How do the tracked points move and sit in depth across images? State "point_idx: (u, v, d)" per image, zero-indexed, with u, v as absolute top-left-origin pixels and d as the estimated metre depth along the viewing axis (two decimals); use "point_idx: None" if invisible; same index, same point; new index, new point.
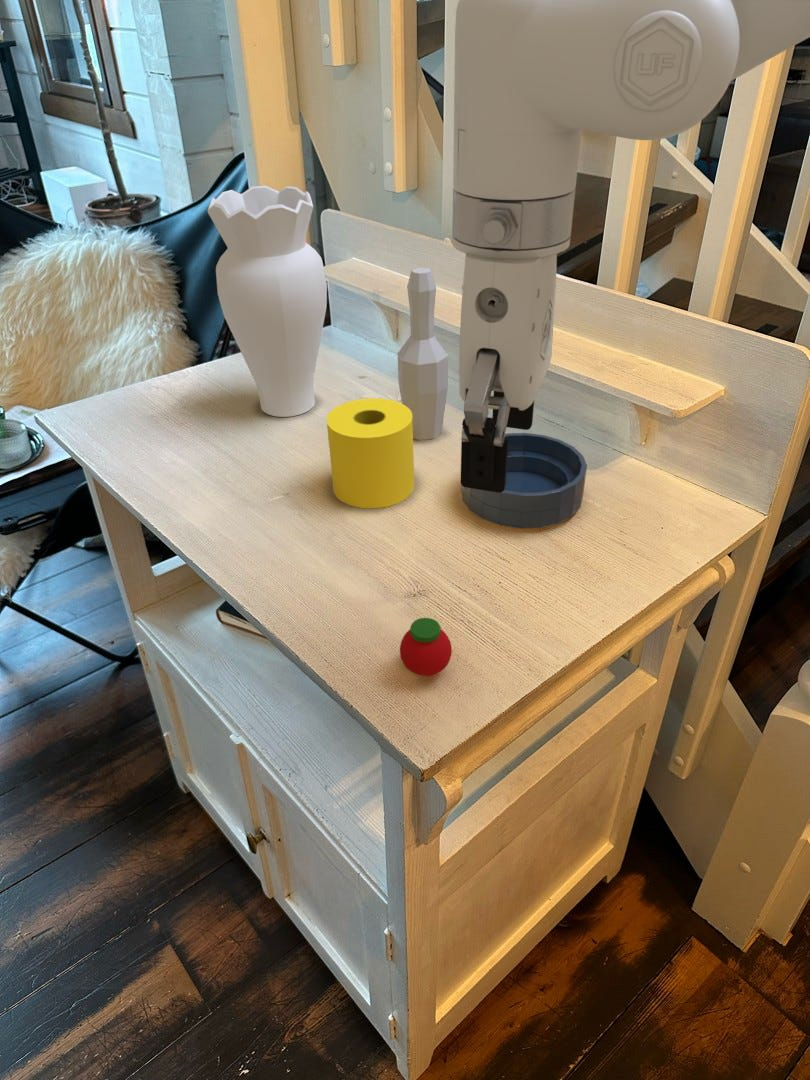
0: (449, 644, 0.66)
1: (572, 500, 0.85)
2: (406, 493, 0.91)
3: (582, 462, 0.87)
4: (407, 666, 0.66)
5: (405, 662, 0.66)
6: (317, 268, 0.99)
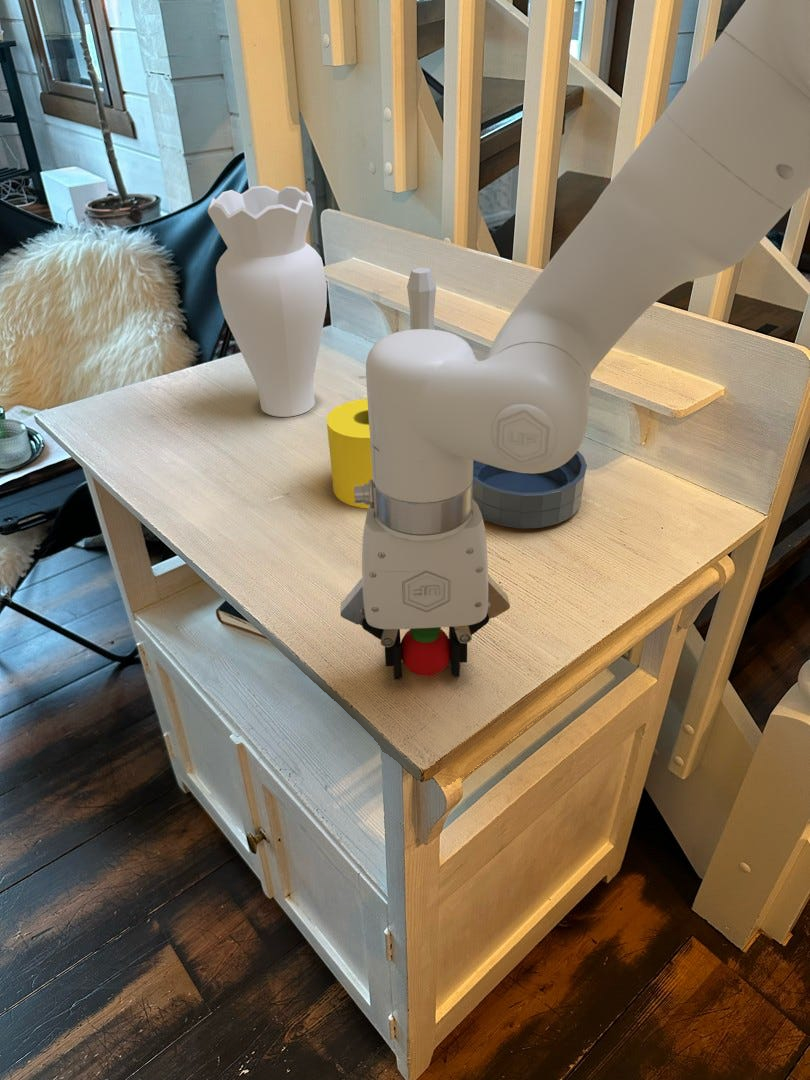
0: (449, 644, 0.66)
1: (572, 500, 0.85)
2: None
3: (582, 462, 0.87)
4: (407, 666, 0.66)
5: (405, 662, 0.66)
6: (317, 268, 0.99)
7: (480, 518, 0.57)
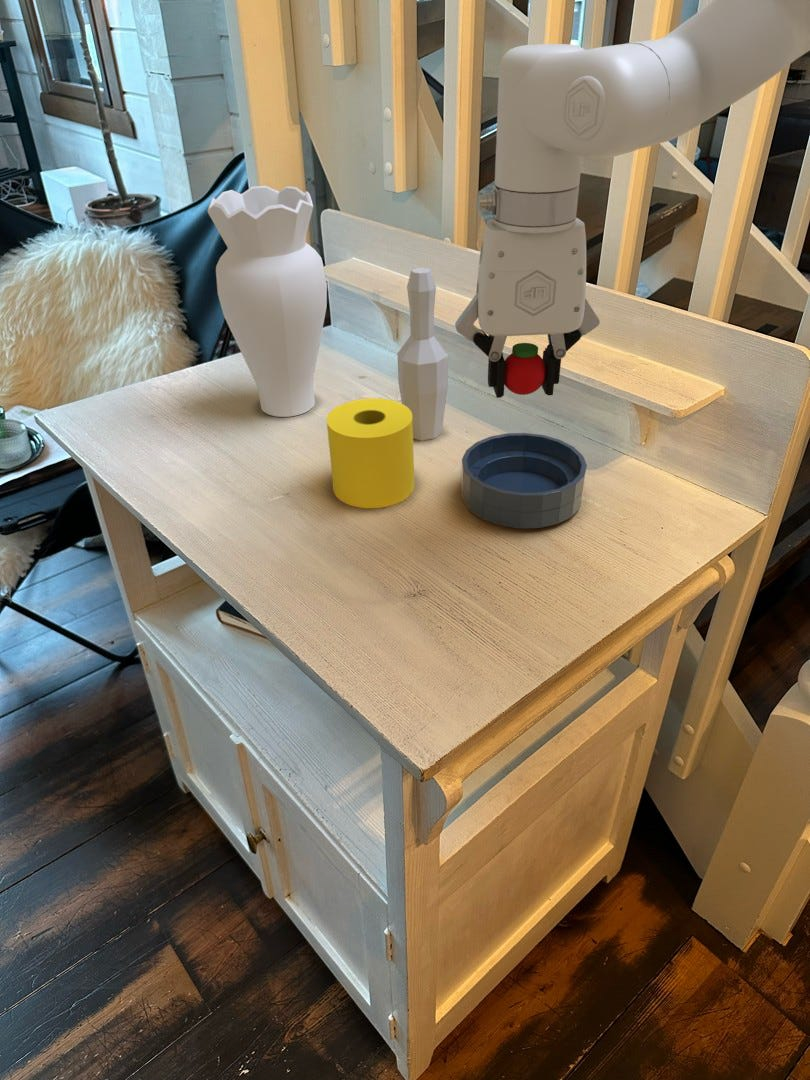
0: (544, 364, 0.78)
1: (572, 500, 0.85)
2: (406, 493, 0.91)
3: (582, 462, 0.87)
4: (509, 383, 0.78)
5: (507, 379, 0.77)
6: (317, 268, 0.99)
7: (583, 223, 0.69)
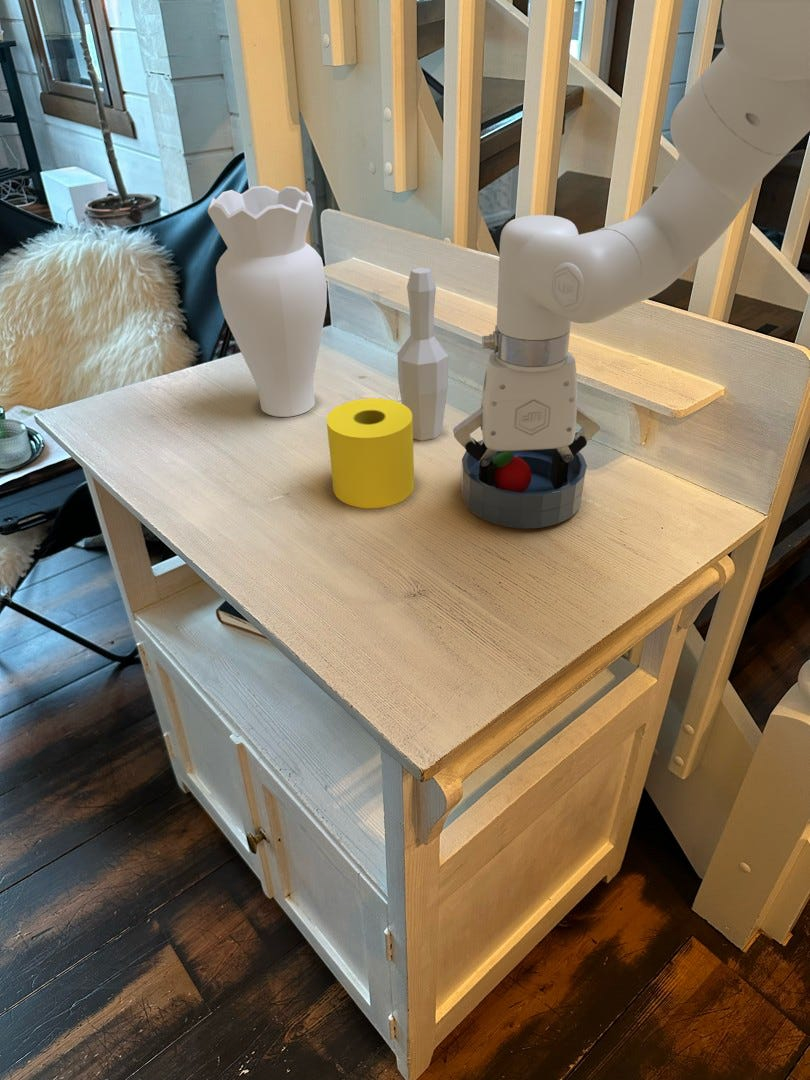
0: (524, 462, 0.88)
1: (572, 500, 0.85)
2: (406, 493, 0.91)
3: (582, 462, 0.87)
4: None
5: (499, 488, 0.88)
6: (317, 268, 0.99)
7: (573, 359, 0.79)
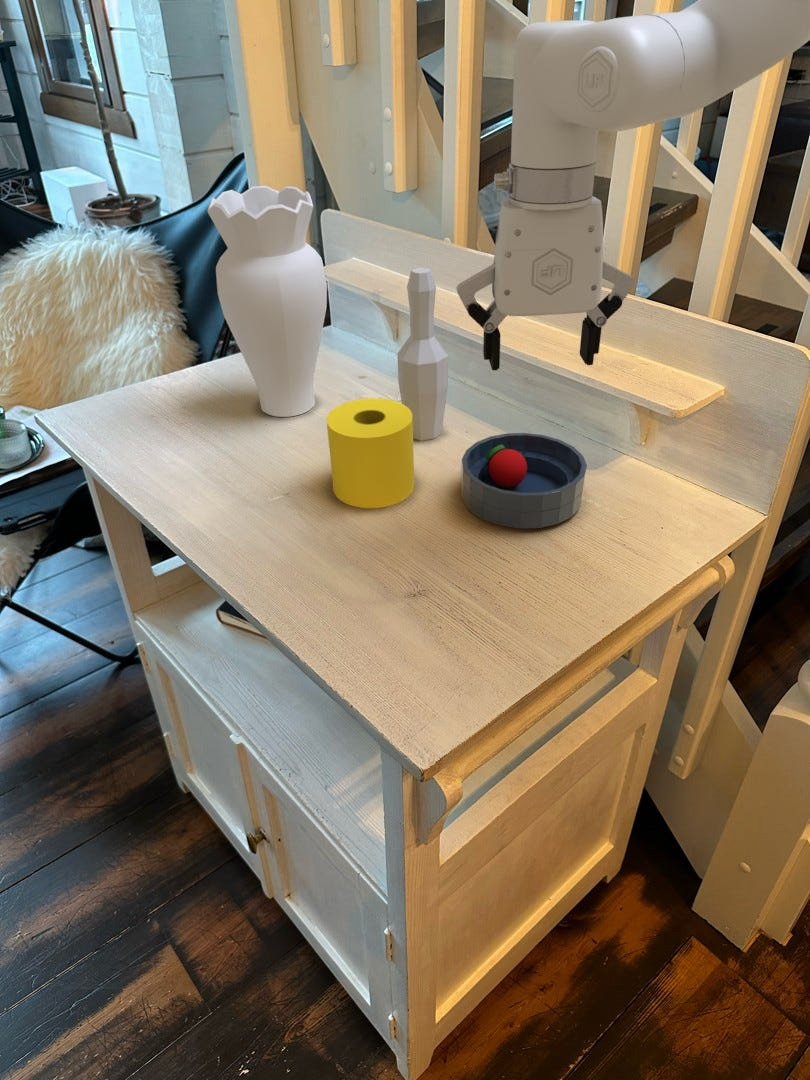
0: None
1: (572, 500, 0.85)
2: (406, 493, 0.91)
3: (582, 462, 0.87)
4: (498, 474, 0.89)
5: (495, 473, 0.89)
6: (317, 268, 0.99)
7: (599, 201, 0.69)
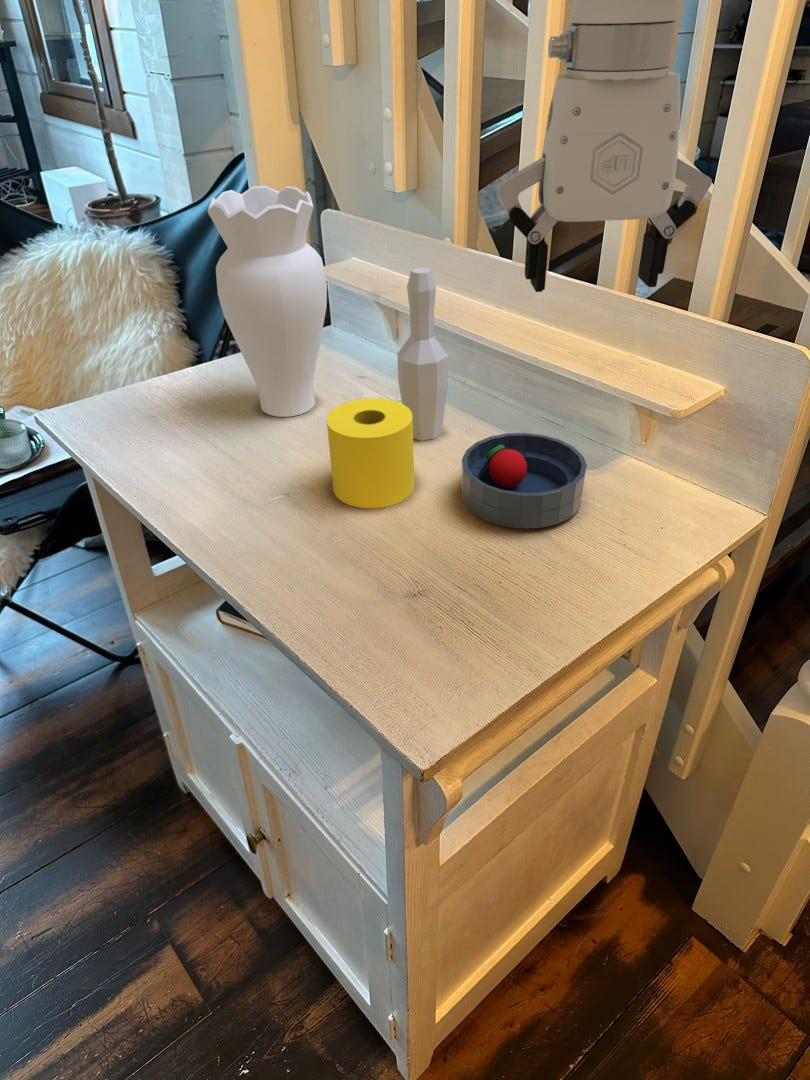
0: None
1: (572, 500, 0.85)
2: (406, 493, 0.91)
3: (582, 462, 0.87)
4: (498, 474, 0.89)
5: (495, 473, 0.89)
6: (317, 268, 0.99)
7: (678, 74, 0.56)
